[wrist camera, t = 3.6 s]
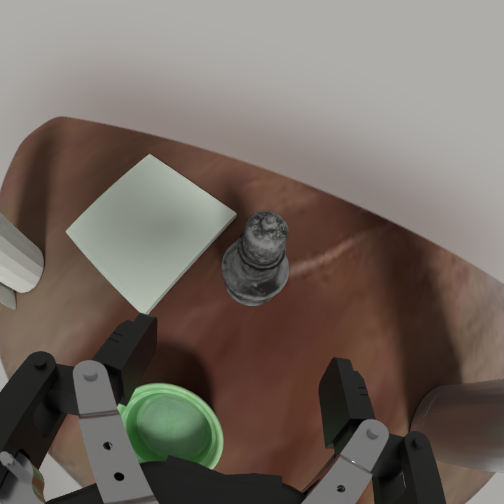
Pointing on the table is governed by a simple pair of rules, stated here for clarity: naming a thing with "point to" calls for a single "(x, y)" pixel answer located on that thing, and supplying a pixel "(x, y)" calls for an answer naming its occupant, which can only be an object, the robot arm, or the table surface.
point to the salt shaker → (257, 260)
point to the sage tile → (149, 231)
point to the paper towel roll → (17, 263)
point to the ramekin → (172, 425)
